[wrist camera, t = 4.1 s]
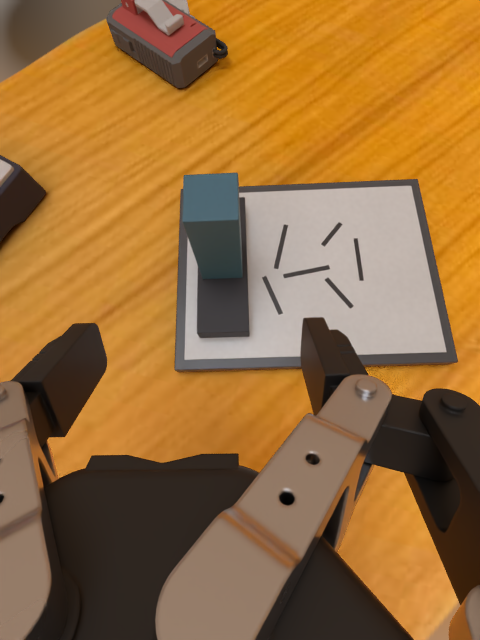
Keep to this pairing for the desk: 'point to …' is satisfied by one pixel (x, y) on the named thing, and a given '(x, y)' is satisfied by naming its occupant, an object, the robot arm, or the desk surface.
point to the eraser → (218, 253)
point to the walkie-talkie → (165, 38)
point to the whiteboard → (327, 278)
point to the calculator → (16, 195)
